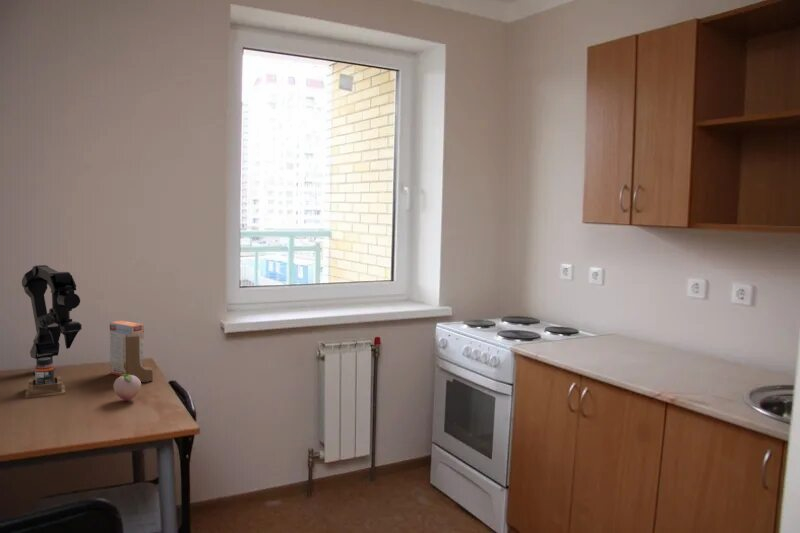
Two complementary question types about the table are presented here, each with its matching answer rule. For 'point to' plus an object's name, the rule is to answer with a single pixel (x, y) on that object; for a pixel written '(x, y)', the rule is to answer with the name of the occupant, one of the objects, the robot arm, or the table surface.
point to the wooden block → (136, 360)
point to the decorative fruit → (127, 386)
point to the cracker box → (123, 344)
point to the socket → (44, 388)
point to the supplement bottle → (44, 371)
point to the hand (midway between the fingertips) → (61, 346)
